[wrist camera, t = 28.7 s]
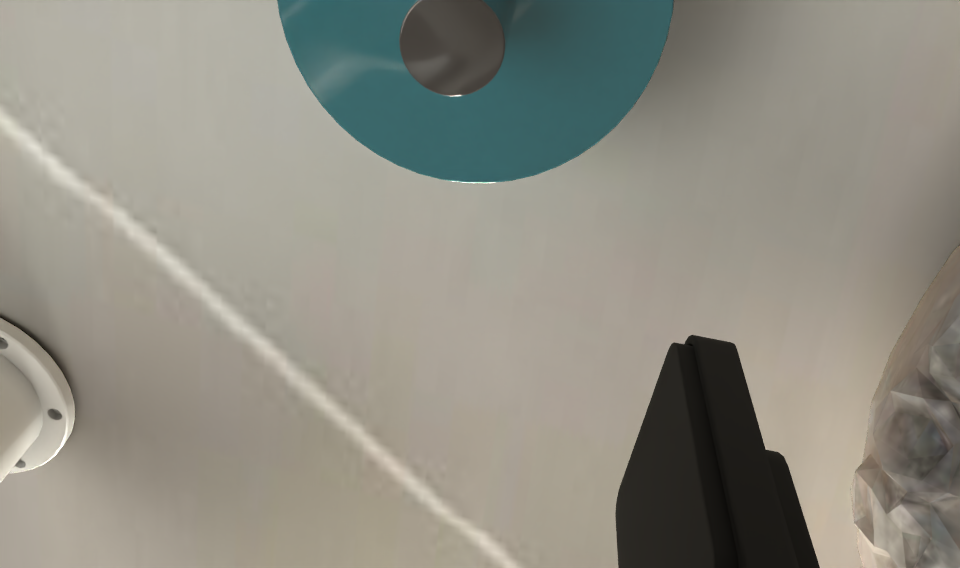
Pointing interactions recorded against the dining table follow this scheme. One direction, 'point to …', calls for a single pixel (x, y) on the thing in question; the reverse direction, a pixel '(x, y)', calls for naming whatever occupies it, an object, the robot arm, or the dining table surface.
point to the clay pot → (915, 441)
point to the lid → (477, 76)
